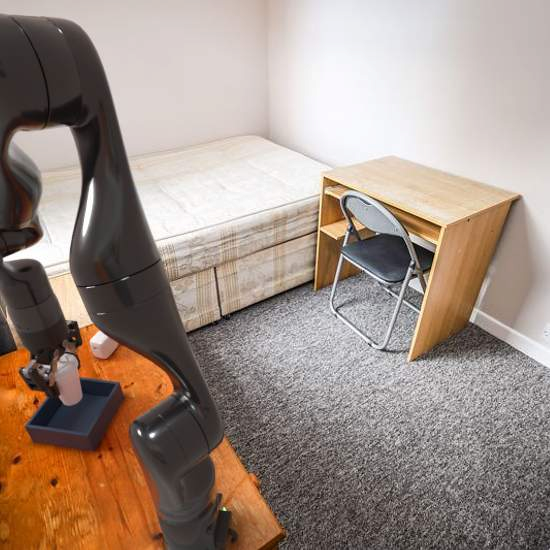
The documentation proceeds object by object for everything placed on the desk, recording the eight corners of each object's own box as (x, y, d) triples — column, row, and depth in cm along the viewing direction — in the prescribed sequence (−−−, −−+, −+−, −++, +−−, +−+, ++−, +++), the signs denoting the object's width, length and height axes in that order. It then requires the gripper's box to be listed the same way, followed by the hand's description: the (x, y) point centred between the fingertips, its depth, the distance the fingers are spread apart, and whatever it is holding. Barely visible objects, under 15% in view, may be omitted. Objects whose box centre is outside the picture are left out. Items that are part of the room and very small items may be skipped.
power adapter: (118, 328, 106) (113, 312, 103) (133, 332, 105) (129, 316, 102) (91, 357, 97) (85, 340, 94) (107, 361, 96) (102, 344, 93)
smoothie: (95, 387, 81) (77, 338, 73) (79, 412, 76) (58, 363, 68) (66, 384, 81) (45, 335, 74) (48, 409, 76) (24, 360, 68)
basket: (124, 397, 88) (119, 382, 85) (94, 451, 77) (87, 436, 74) (70, 390, 89) (63, 374, 86) (33, 442, 78) (24, 426, 75)
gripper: (30, 348, 60) (61, 415, 69) (81, 294, 72) (102, 357, 81) (-13, 343, 61) (23, 409, 70) (44, 290, 73) (68, 353, 82)
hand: (65, 381), depth 76 cm, fingers closed on smoothie, 6 cm apart
